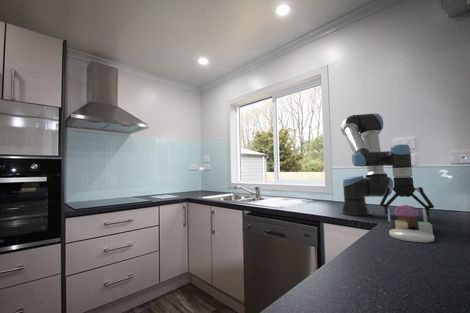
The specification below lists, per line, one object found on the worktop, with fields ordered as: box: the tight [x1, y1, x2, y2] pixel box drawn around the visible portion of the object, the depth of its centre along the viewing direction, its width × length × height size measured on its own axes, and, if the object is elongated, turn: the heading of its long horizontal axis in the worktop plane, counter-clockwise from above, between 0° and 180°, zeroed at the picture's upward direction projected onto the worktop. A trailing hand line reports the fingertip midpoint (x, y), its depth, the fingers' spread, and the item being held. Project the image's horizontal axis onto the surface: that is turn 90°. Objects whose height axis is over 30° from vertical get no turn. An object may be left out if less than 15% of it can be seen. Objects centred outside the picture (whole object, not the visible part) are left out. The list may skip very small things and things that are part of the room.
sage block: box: [417, 221, 434, 235], centre depth 94 cm, size 6×4×4 cm, turn 146°
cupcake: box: [394, 204, 419, 228], centre depth 105 cm, size 9×9×10 cm
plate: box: [388, 228, 435, 243], centre depth 89 cm, size 14×14×2 cm
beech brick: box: [394, 219, 409, 229], centre depth 98 cm, size 6×4×4 cm, turn 149°
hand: (406, 222), depth 105 cm, fingers open, 13 cm apart
